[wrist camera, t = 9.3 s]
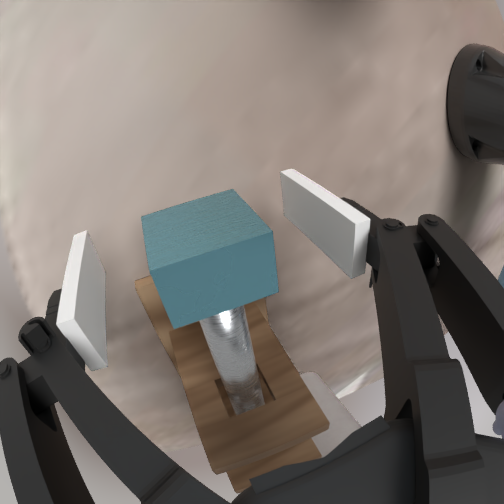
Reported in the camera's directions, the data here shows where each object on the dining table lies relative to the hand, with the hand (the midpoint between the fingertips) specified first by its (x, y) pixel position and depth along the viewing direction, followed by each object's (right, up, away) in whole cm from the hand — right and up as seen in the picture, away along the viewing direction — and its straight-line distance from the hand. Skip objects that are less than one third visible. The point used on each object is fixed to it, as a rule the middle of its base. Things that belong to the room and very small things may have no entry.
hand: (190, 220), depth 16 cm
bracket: (0, -10, +14) cm, 18 cm away
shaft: (+1, -7, +4) cm, 9 cm away
